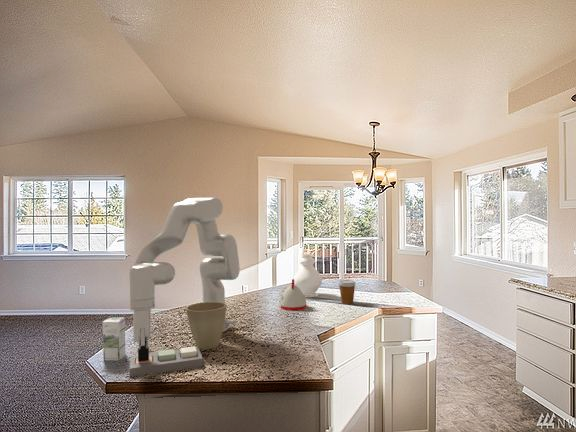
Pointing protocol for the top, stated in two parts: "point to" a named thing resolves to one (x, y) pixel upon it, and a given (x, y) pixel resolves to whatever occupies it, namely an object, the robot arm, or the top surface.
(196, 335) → the plant pot
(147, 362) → the terracotta button
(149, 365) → the button panel
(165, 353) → the sage button
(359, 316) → the top surface
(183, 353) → the cream button
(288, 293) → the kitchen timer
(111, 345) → the syrup box
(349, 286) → the disposable coffee cup
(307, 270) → the decorative vase
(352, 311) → the top surface
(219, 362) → the top surface
